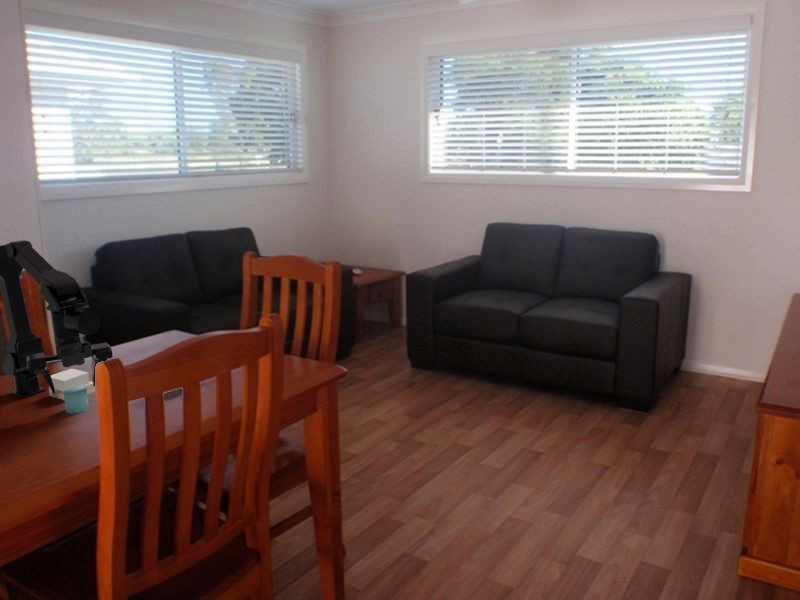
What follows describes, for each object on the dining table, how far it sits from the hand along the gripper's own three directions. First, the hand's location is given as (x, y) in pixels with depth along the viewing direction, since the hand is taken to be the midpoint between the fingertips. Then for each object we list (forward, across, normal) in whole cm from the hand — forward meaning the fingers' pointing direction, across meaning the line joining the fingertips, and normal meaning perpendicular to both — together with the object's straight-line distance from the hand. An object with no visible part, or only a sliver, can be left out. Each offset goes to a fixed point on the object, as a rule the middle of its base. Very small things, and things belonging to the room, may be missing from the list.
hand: (74, 389), depth 175 cm
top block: (+3, 0, +12) cm, 12 cm away
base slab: (+6, +1, +12) cm, 14 cm away
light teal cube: (+5, 0, 0) cm, 5 cm away
